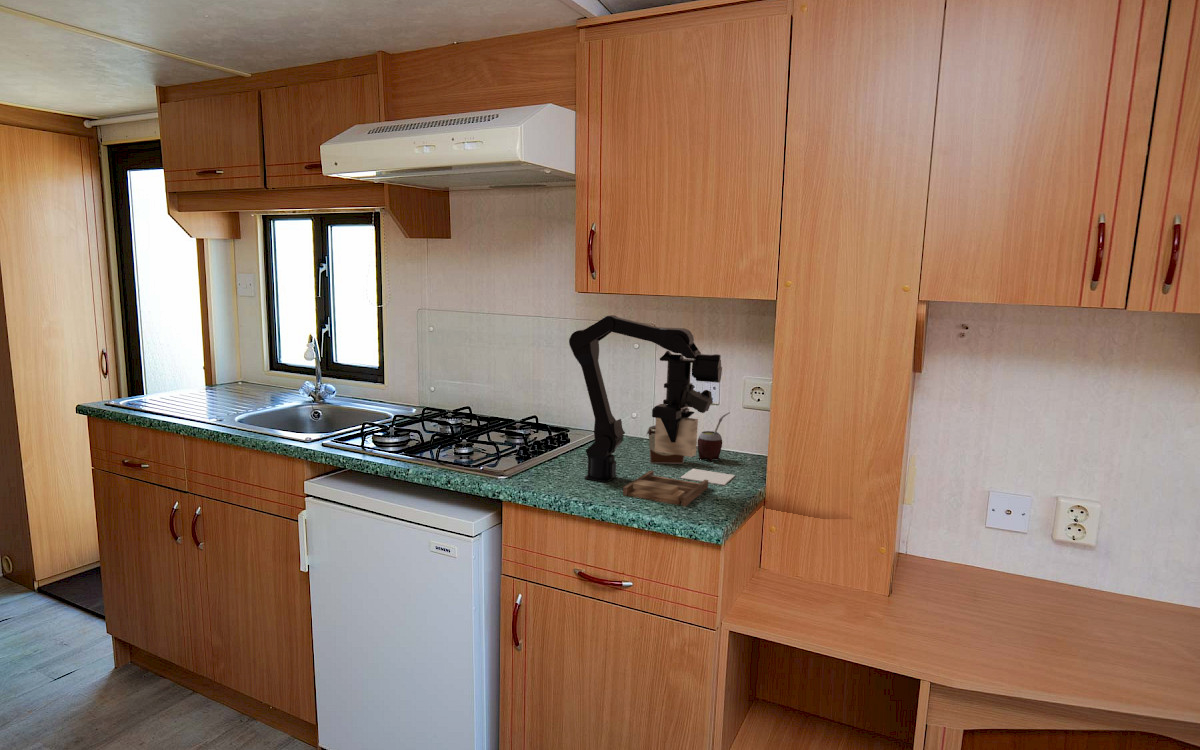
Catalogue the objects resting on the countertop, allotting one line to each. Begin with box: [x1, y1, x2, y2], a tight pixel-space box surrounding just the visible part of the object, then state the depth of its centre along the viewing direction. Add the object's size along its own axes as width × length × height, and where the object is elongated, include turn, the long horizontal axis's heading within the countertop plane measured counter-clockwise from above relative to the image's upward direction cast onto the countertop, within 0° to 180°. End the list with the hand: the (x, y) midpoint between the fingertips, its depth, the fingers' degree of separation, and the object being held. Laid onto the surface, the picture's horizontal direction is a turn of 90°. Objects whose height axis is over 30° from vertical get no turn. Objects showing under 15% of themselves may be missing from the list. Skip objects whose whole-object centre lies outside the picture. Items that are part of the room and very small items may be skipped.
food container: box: [646, 424, 685, 465], centre depth 205 cm, size 12×6×10 cm, turn 92°
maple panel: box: [655, 417, 699, 458], centre depth 178 cm, size 10×3×9 cm, turn 63°
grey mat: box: [679, 468, 736, 487], centre depth 190 cm, size 12×10×1 cm
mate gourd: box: [697, 412, 730, 463], centre depth 207 cm, size 8×8×15 cm
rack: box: [622, 470, 709, 507], centre depth 176 cm, size 16×17×2 cm
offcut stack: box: [627, 480, 686, 506], centre depth 171 cm, size 13×5×4 cm, turn 64°
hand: (675, 440), depth 178 cm, fingers closed on maple panel, 3 cm apart
